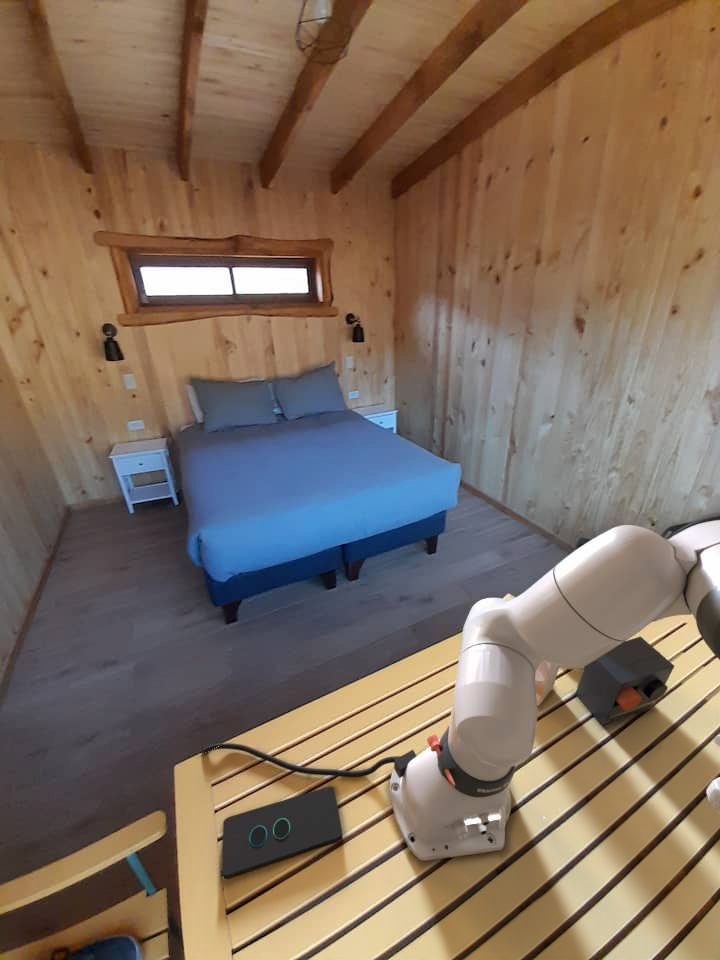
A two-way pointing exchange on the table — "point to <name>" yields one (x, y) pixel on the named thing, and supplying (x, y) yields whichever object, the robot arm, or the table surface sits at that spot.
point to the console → (623, 680)
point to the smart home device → (280, 831)
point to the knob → (628, 699)
